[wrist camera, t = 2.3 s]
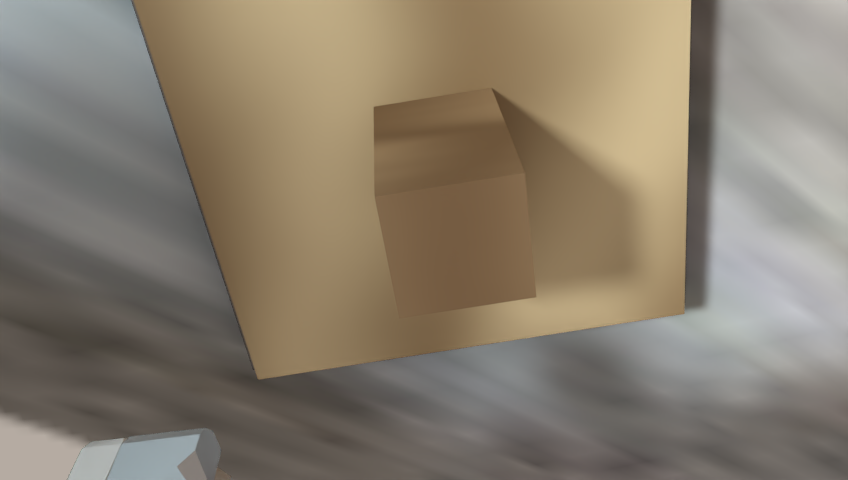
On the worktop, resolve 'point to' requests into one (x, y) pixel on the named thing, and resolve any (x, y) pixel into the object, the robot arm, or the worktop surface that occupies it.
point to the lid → (431, 166)
